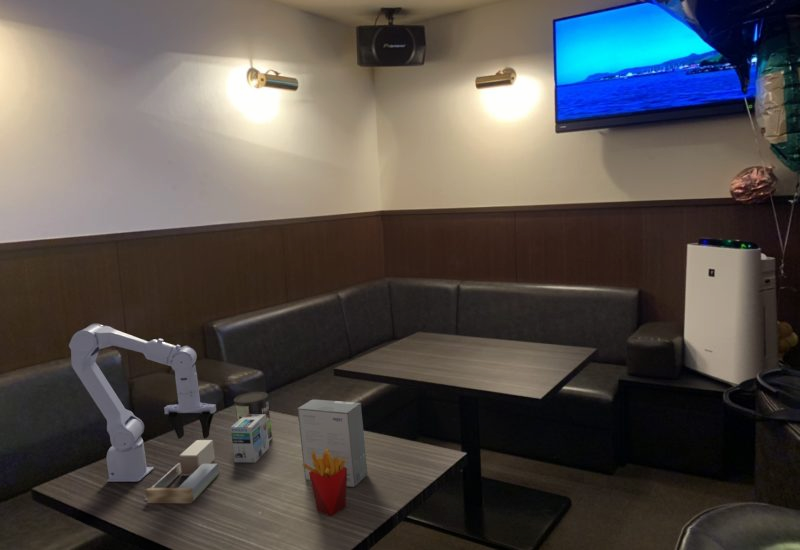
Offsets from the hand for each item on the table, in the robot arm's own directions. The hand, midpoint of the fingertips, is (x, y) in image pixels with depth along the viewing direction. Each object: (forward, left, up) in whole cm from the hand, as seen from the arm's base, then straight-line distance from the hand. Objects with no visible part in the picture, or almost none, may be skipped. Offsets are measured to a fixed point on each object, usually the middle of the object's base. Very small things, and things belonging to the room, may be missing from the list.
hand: (193, 437), depth 168 cm
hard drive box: (+42, -5, -10) cm, 43 cm away
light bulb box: (+13, +8, -10) cm, 18 cm away
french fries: (+45, -22, -10) cm, 51 cm away
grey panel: (-4, -10, -9) cm, 14 cm away
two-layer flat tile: (+6, -10, -9) cm, 15 cm away
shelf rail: (+2, -19, -9) cm, 21 cm away
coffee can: (+10, +19, -10) cm, 23 cm away
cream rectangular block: (0, +1, -9) cm, 9 cm away
